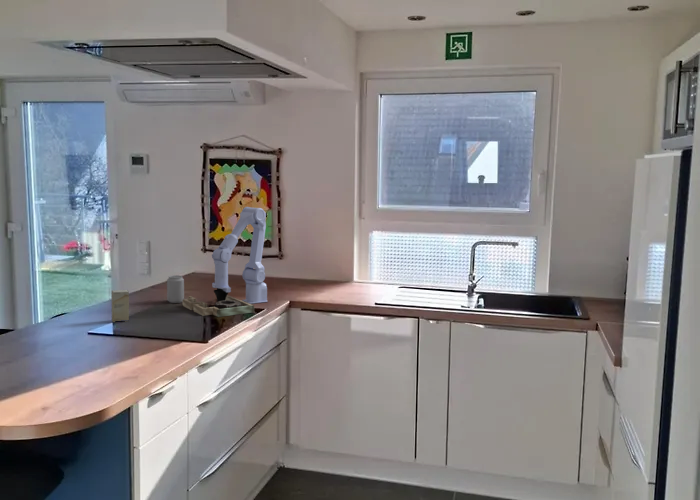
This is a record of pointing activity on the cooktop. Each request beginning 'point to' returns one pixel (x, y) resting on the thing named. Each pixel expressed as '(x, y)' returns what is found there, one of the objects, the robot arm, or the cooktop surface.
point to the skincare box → (120, 305)
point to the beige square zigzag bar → (203, 310)
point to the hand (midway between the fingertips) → (221, 305)
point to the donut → (227, 304)
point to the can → (175, 289)
